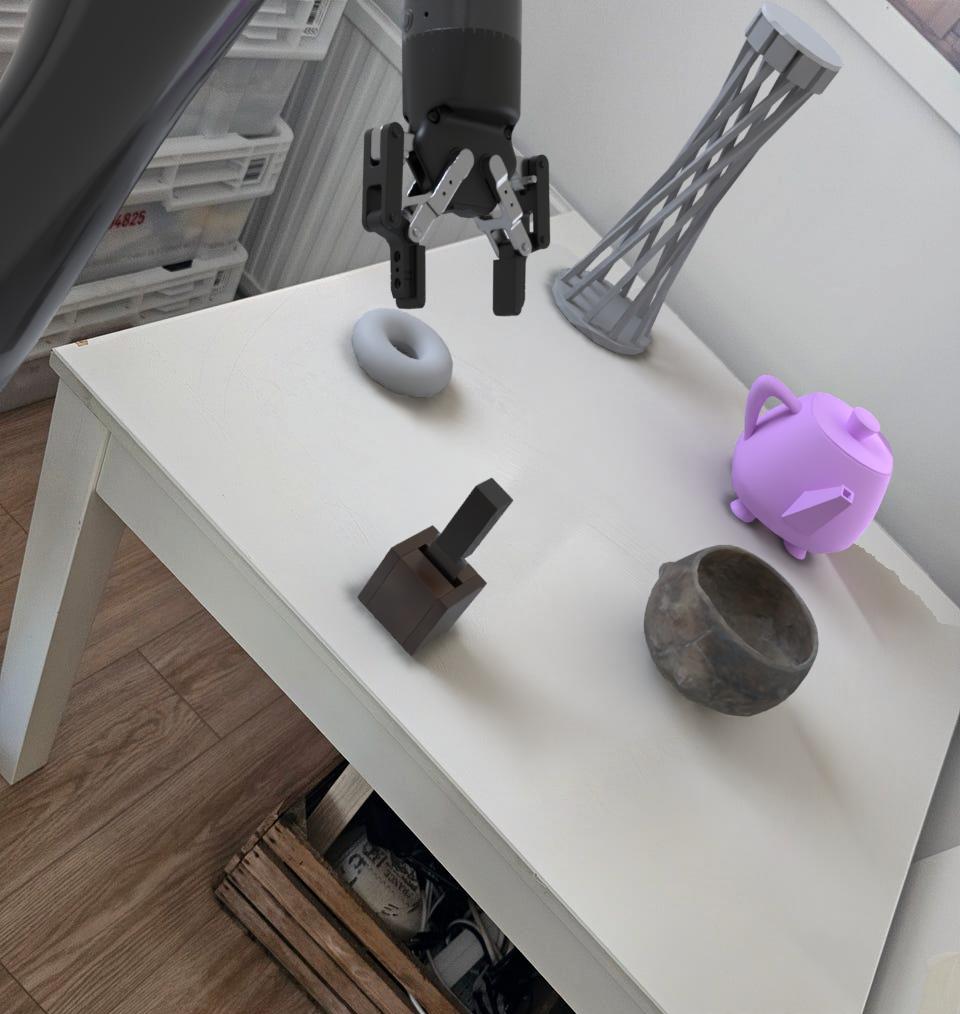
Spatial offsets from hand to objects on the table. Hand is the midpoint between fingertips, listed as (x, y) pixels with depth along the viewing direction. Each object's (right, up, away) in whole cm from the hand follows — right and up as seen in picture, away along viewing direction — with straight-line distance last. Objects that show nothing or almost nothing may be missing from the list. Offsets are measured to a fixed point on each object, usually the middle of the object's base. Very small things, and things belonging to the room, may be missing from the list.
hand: (461, 312), depth 69 cm
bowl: (+20, -24, +23) cm, 39 cm away
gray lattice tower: (+15, +17, +55) cm, 59 cm away
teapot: (+32, -8, +46) cm, 56 cm away
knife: (-4, -20, +10) cm, 22 cm away
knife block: (-4, -20, +10) cm, 22 cm away
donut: (-7, +4, +28) cm, 29 cm away
